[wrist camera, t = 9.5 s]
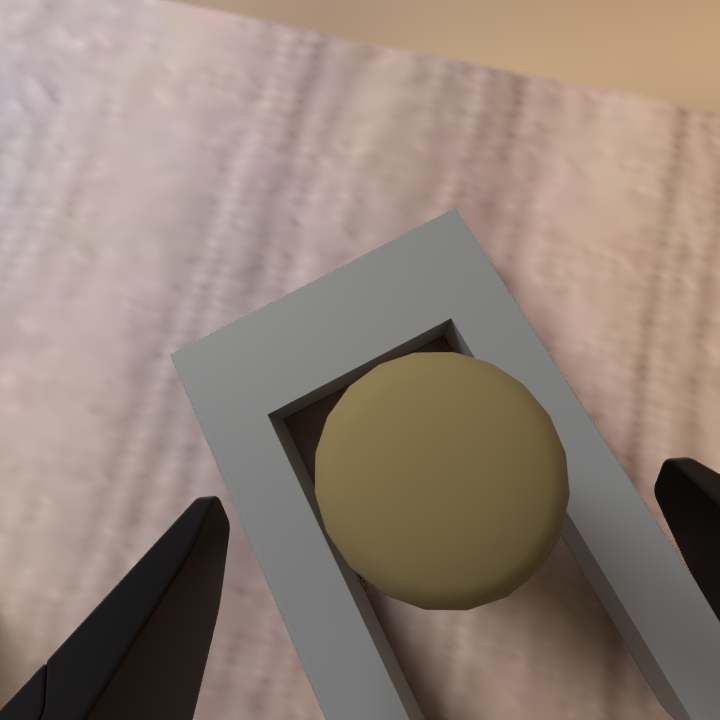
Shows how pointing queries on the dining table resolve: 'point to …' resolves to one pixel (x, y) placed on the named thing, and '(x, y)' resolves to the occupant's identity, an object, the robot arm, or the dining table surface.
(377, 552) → the cork
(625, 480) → the notched board
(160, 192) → the dining table surface
